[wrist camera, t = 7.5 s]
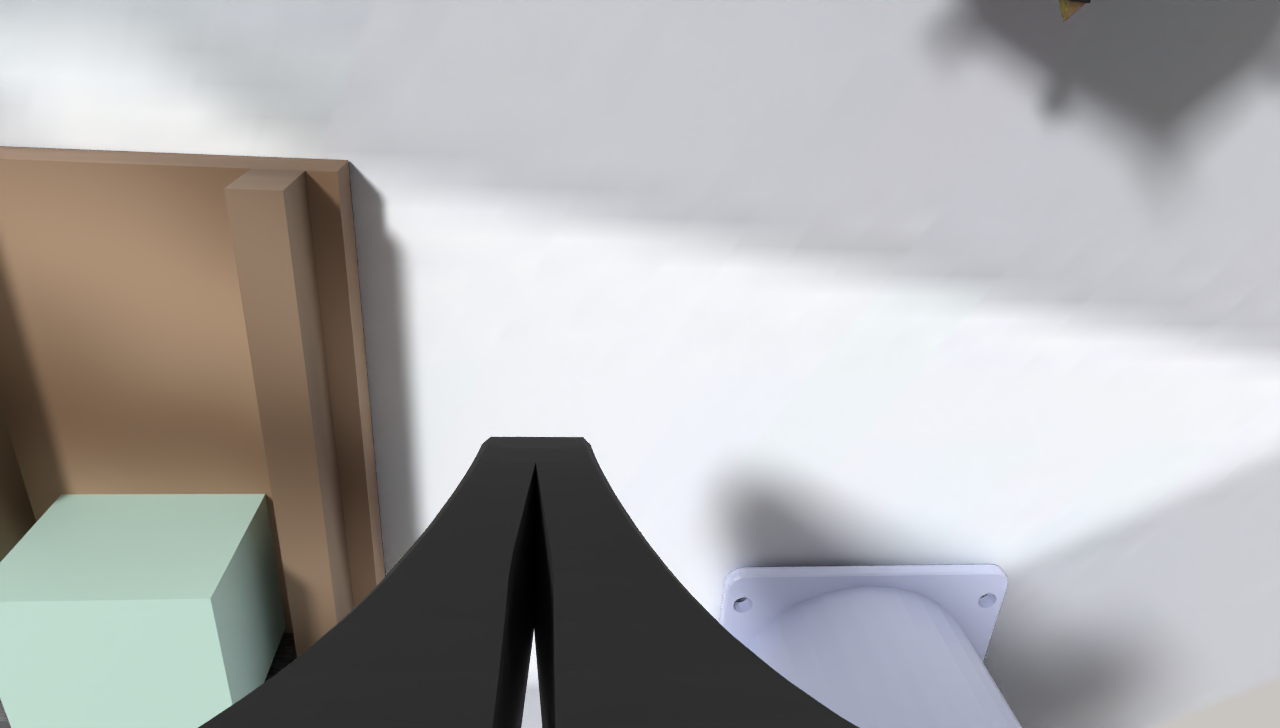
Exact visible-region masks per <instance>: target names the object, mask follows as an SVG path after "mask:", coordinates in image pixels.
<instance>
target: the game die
mask: <svg viewBox="0 0 1280 728" xmlns="http://www.w3.org/2000/svg"><path fill="white" fill-rule="evenodd" d="M1090 1H1091V0H1059V3H1060V8H1061V12H1062V17H1063V21H1065V20H1066V19H1067V18H1069V17H1070V16H1071V15H1072V14H1073V13H1074V12H1076V11H1077V10H1078V9H1079V8H1080V7H1082V6H1083V5H1084V4H1085V3H1090Z"/></svg>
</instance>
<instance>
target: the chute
mask: <svg viewBox="0 0 1280 728" xmlns="http://www.w3.org/2000/svg"><path fill="white" fill-rule="evenodd" d="M61 494H265V496H266V502H267V508H268V514H269V521H270V527H271V533H272V539H273V546H274V552H275V558H276V564H277V571H278V577H279V583H280V589H281V596H282V602H283V608H284V614H285V621H286V628H285V630H284V633H283V636H282V638H281V641H280V643H279V646H278V648H277V651H276V653H275V656H274V659H273V661H272V664H271V666H270V669H269V671H268V674H267V676H266V679H265V682H266V681H267V680H269V679H270V678H272V677H273V676H274V675H276V674H277V673H278V672H280V671H281V670H282V669H284V668H285V667H286V666H287V665H289V664H290V663H291V662H292V661H294V660H295V659H296V658H297V657H299V656H300V655H301V654H302V653H303V652H305V651H306V650H307V649H308V648H309V647H310V646H312V645H313V644H314V643H315V642H316V641H317V640H319V639H320V638H321V637H322V636H323V635H324V634H326V633H327V632H328V631H329V630H330V629H332V628H333V627H334V626H335V625H336V624H337V623H339V622H340V621H341V620H342V619H343V618H344V617H345V616H346V615H347V614H348V613H349V612H350V611H351V610H352V609H353V608H355V607H356V606H357V605H358V604H359V603H360V602H361V601H362V600H363V599H364V598H365V597H366V596H367V595H368V594H369V593H370V592H371V591H372V590H373V589H374V588H375V587H376V586H377V585H378V584H379V583H380V582H381V581H382V580H383V579H384V578H385V568H384V556H383V545H382V534H381V523H380V511H379V500H378V489H377V478H376V467H375V455H374V444H373V433H372V422H371V411H370V399H369V388H368V377H367V366H366V354H365V343H364V332H363V321H362V310H361V298H360V287H359V276H358V265H357V254H356V242H355V231H354V220H353V209H352V198H351V186H350V175H349V164H348V160H328V159H303V158H278V157H253V156H228V155H204V154H179V153H154V152H129V151H104V150H80V149H55V148H30V147H5V146H0V562H1V561H2V560H3V559H4V558H5V557H6V556H7V554H8V553H9V552H10V551H11V550H12V549H13V548H14V547H15V545H16V544H17V543H18V542H19V541H20V540H21V539H22V538H23V537H24V535H25V534H26V533H27V532H28V531H29V530H30V529H31V528H32V527H33V525H34V524H35V523H36V522H37V521H38V520H39V519H40V518H41V517H42V515H43V514H44V513H45V512H46V511H47V510H48V509H49V508H50V506H51V505H52V504H53V503H54V502H55V501H56V500H57V499H58V498H59V496H60V495H61ZM265 682H264V683H265ZM0 728H11V726H10V723H9V720H8V718H7V715H6V712H5V710H4V707H3V704H2V702H1V699H0Z"/></svg>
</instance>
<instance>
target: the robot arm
mask: <svg viewBox="0 0 1280 728" xmlns="http://www.w3.org/2000/svg"><path fill="white" fill-rule="evenodd" d="M1007 586H1008V578H1007V576H1006V575H1005V573H1004V572H1003V570H1002V569H1001V568H1000V567H998V566H997V565H991V564H977V565H897V566H817V567H744V568H738V569H736V570H734V571H732V572H730V573H729V574H728V576H727V577H726V579H725V582H724V588H723V596H722V603H721V610H720V618H719V622H718V621H717V620H716V619H715V618H714V617H713V616H711V614H710V613H709V612H708V611H707V610H706V609H705V608H704V607H703V606H702V605H701V604H700V603H699V602H698V601H697V600H696V599H695V598H694V597H693V596H692V595H691V594H690V593H689V592H688V591H687V589H686V588H685V587H684V586H683V585H682V584H681V583H680V582H679V580H678V579H677V578H676V577H675V576H674V575H673V573H672V572H671V571H670V570H669V569H668V567H667V566H666V565H665V564H664V562H663V561H662V560H661V559H660V557H659V556H658V555H657V554H656V552H655V551H654V550H653V549H652V547H651V546H650V545H649V543H648V542H647V541H646V539H645V538H644V537H643V535H642V534H641V532H640V531H639V530H638V528H637V527H636V525H635V524H634V522H633V521H632V519H631V518H630V516H629V515H628V513H627V512H626V510H625V509H624V507H623V506H622V504H621V503H620V501H619V500H618V498H617V496H616V495H615V493H614V491H613V490H612V488H611V486H610V484H609V483H608V481H607V479H606V477H605V476H604V474H603V472H602V470H601V468H600V466H599V464H598V462H597V460H596V457H595V455H594V453H593V450H592V448H591V445H590V444H589V443H588V442H587V441H586V440H585V439H584V438H583V437H490V438H489V439H488V440H487V441H485V442H484V443H483V444H482V446H481V448H480V450H479V452H478V454H477V456H476V458H475V459H474V461H473V463H472V465H471V466H470V468H469V470H468V471H467V473H466V474H465V476H464V478H463V479H462V481H461V482H460V484H459V485H458V487H457V488H456V490H455V491H454V493H453V494H452V495H451V497H450V498H449V499H448V501H447V502H446V504H445V505H444V506H443V508H442V509H441V510H440V512H439V513H438V515H437V516H436V517H435V519H434V520H433V521H432V523H431V524H430V525H429V527H428V528H427V529H426V530H425V532H424V533H423V534H422V535H421V536H420V537H419V539H418V540H417V541H416V542H415V543H414V545H413V546H412V547H411V548H410V549H409V550H408V552H407V553H406V554H405V555H404V556H403V557H402V559H401V560H400V561H399V562H398V563H397V564H396V566H395V567H394V568H393V569H392V570H391V571H390V572H389V573H388V574H387V575H386V576H385V578H384V579H383V580H382V581H381V582H380V583H379V584H378V585H377V586H376V587H375V588H374V589H373V590H372V591H371V592H370V593H369V594H368V595H367V596H366V597H365V598H364V599H363V600H362V601H361V602H360V603H359V604H358V605H357V606H356V607H355V608H353V609H352V610H351V611H350V612H349V613H348V614H347V615H346V616H345V617H344V618H343V619H342V620H341V621H340V622H339V623H337V624H336V625H335V626H334V627H333V628H332V629H330V630H329V631H328V632H327V633H326V634H324V635H323V636H322V637H321V638H320V639H319V640H317V641H316V642H315V643H314V644H313V645H312V646H310V647H309V648H308V649H307V650H306V651H305V652H303V653H302V654H301V655H300V656H299V657H297V658H296V659H295V660H294V661H292V662H291V663H290V664H289V665H287V666H286V667H285V668H284V669H282V670H281V671H280V672H278V673H277V674H276V675H274V676H273V677H272V678H270V679H269V680H267V681H266V682H265V683H263V684H262V685H260V686H259V687H257V688H256V689H255V690H253V691H252V692H250V693H249V694H248V695H246V696H245V697H243V698H242V699H241V700H239V701H237V702H236V703H234V704H233V705H231V706H230V707H228V708H227V709H225V710H224V711H222V712H221V713H219V714H218V715H216V716H215V717H213V718H212V719H210V720H209V721H207V722H206V723H204V724H203V725H201V726H200V727H198V728H521V724H522V717H523V709H524V701H525V694H526V686H527V679H528V671H529V663H530V655H531V648H532V640H533V632H534V631H535V644H536V656H537V668H538V680H539V692H540V704H541V716H542V728H1022V727H1021V725H1020V724H1019V722H1018V720H1017V719H1016V717H1015V715H1014V714H1013V712H1012V710H1011V709H1010V707H1009V705H1008V704H1007V702H1006V700H1005V699H1004V697H1003V695H1002V694H1001V692H1000V690H999V689H998V687H997V685H996V684H995V682H994V680H993V679H992V677H991V675H990V674H989V672H988V670H987V669H986V667H985V665H984V664H983V660H984V657H985V654H986V651H987V648H988V645H989V642H990V639H991V636H992V633H993V630H994V627H995V623H996V620H997V617H998V614H999V611H1000V608H1001V605H1002V602H1003V599H1004V596H1005V593H1006V590H1007ZM985 594H988V595H986V596H985V597H983V598H980V597H982V596H983V595H985ZM743 597H745V598H748V599H746V600H745V601H743V602H735V601H736V600H737V599H739V598H743Z"/></svg>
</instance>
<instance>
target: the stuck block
mask: <svg viewBox="0 0 1280 728" xmlns="http://www.w3.org/2000/svg"><path fill="white" fill-rule="evenodd" d="M285 628H286V621H285V614H284V608H283V602H282V596H281V589H280V583H279V577H278V571H277V564H276V558H275V552H274V546H273V539H272V533H271V527H270V521H269V514H268V508H267V502H266V496H265V494H61V495H60V496H59V498H58V499H57V500H56V501H55V502H54V503H53V504H52V505H51V506H50V508H49V509H48V510H47V511H46V512H45V513H44V514H43V515H42V517H41V518H40V519H39V520H38V521H37V522H36V523H35V524H34V525H33V527H32V528H31V529H30V530H29V531H28V532H27V533H26V534H25V535H24V537H23V538H22V539H21V540H20V541H19V542H18V543H17V544H16V545H15V547H14V548H13V549H12V550H11V551H10V552H9V553H8V554H7V556H6V557H5V558H4V559H3V560H2V561H1V562H0V699H1V702H2V704H3V707H4V710H5V712H6V715H7V718H8V720H9V723H10V726H11V728H198V727H200V726H201V725H203V724H204V723H206V722H207V721H209V720H210V719H212V718H213V717H215V716H216V715H218V714H219V713H221V712H222V711H224V710H225V709H227V708H228V707H230V706H231V705H233V704H234V703H236V702H237V701H239V700H241V699H242V698H243V697H245V696H246V695H248V694H249V693H250V692H252V691H253V690H255V689H256V688H257V687H259V686H260V685H262V684H263V683H264V682H265V679H266V676H267V674H268V671H269V669H270V666H271V664H272V661H273V659H274V656H275V653H276V651H277V648H278V646H279V643H280V641H281V638H282V636H283V633H284V630H285Z"/></svg>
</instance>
